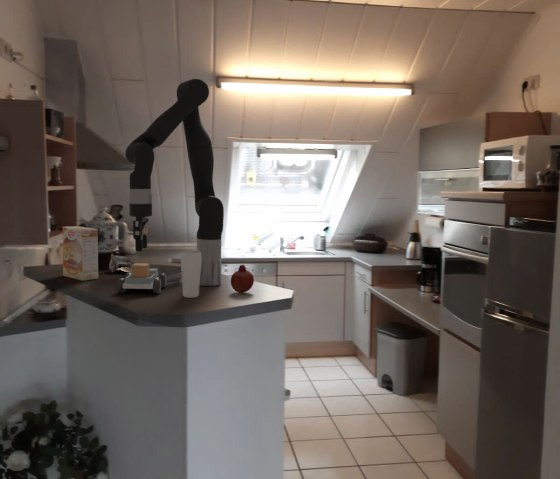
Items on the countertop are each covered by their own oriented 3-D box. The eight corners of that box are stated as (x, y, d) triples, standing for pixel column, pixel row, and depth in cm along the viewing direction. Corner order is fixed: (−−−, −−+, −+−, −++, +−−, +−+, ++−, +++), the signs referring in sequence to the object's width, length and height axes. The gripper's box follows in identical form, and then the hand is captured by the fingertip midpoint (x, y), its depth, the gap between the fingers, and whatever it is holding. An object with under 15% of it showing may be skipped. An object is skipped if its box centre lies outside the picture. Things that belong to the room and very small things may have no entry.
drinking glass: (191, 299, 174) (192, 254, 173) (176, 296, 178) (176, 252, 176) (205, 296, 180) (205, 252, 178) (190, 293, 183) (190, 250, 182)
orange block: (149, 280, 187) (149, 263, 186) (146, 283, 182) (146, 265, 181) (135, 280, 187) (134, 263, 186) (131, 282, 182) (131, 265, 181)
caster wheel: (138, 278, 223) (115, 277, 217) (129, 269, 232) (107, 267, 226) (142, 263, 222) (118, 261, 216) (133, 255, 231) (110, 252, 225)
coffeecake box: (62, 275, 211) (61, 226, 209) (79, 273, 217) (78, 226, 215) (81, 280, 202) (81, 229, 200) (99, 278, 207) (98, 228, 205)
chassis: (166, 285, 196) (166, 268, 195) (158, 294, 180) (158, 275, 179) (127, 285, 195) (127, 267, 195) (116, 294, 179) (116, 275, 179)
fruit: (248, 296, 181) (248, 267, 180) (226, 294, 184) (227, 265, 183) (257, 292, 189) (257, 264, 188) (236, 290, 192) (236, 262, 191)
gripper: (147, 203, 175) (148, 252, 176) (155, 201, 189) (156, 247, 190) (124, 203, 174) (125, 252, 176) (133, 201, 188) (134, 247, 190)
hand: (141, 249), depth 183 cm, fingers open, 8 cm apart
